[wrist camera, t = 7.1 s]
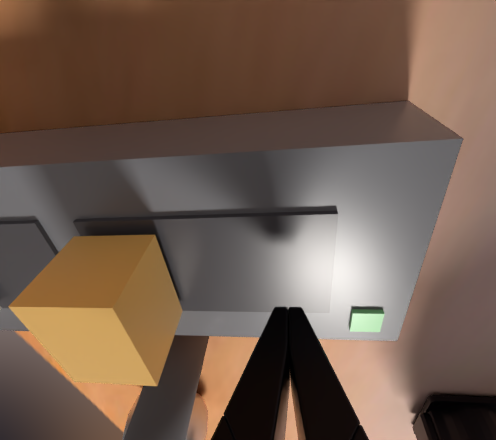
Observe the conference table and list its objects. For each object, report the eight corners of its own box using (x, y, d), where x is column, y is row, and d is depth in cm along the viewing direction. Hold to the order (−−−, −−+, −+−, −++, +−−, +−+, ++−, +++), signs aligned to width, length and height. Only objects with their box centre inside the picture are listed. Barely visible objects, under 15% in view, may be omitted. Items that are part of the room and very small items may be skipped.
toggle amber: (154, 234, 10) (112, 307, 7) (182, 310, 12) (157, 386, 10) (74, 236, 10) (8, 306, 8) (115, 309, 12) (74, 381, 10)
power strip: (408, 100, 11) (466, 141, 7) (373, 273, 16) (398, 345, 12) (-97, 141, 14) (-221, 183, 10) (10, 275, 19) (-50, 332, 16)
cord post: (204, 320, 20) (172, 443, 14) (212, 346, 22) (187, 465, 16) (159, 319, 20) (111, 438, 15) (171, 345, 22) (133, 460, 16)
